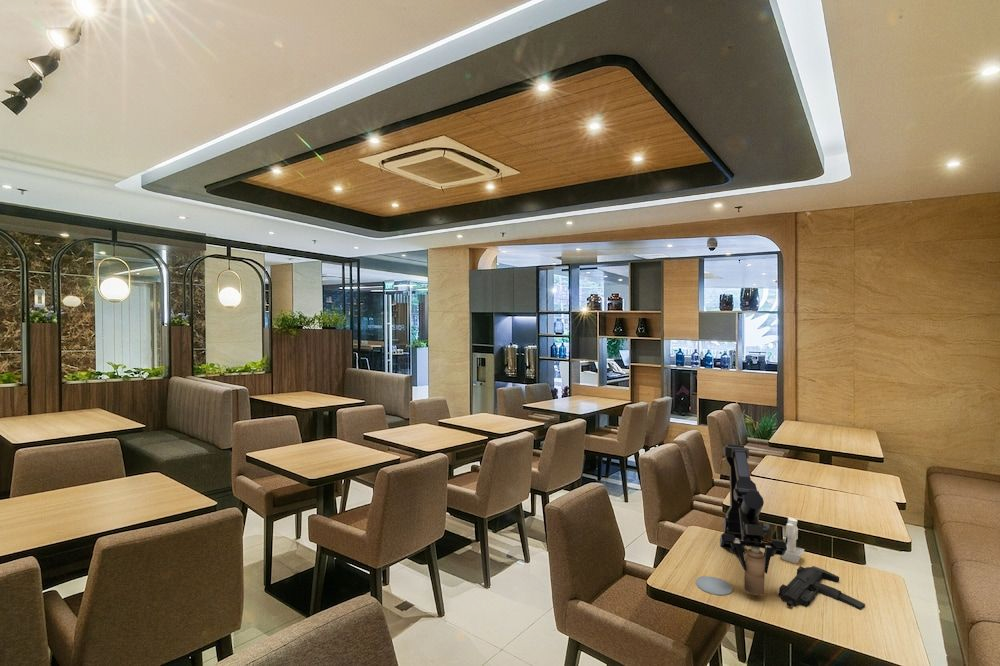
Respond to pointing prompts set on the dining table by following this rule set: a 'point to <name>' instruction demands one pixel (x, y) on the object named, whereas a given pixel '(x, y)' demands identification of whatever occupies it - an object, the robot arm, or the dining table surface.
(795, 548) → the figurine
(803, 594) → the firearm
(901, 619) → the dining table surface
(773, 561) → the dining table surface
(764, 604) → the dining table surface
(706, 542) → the dining table surface
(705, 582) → the slate mat
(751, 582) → the pepper mill
